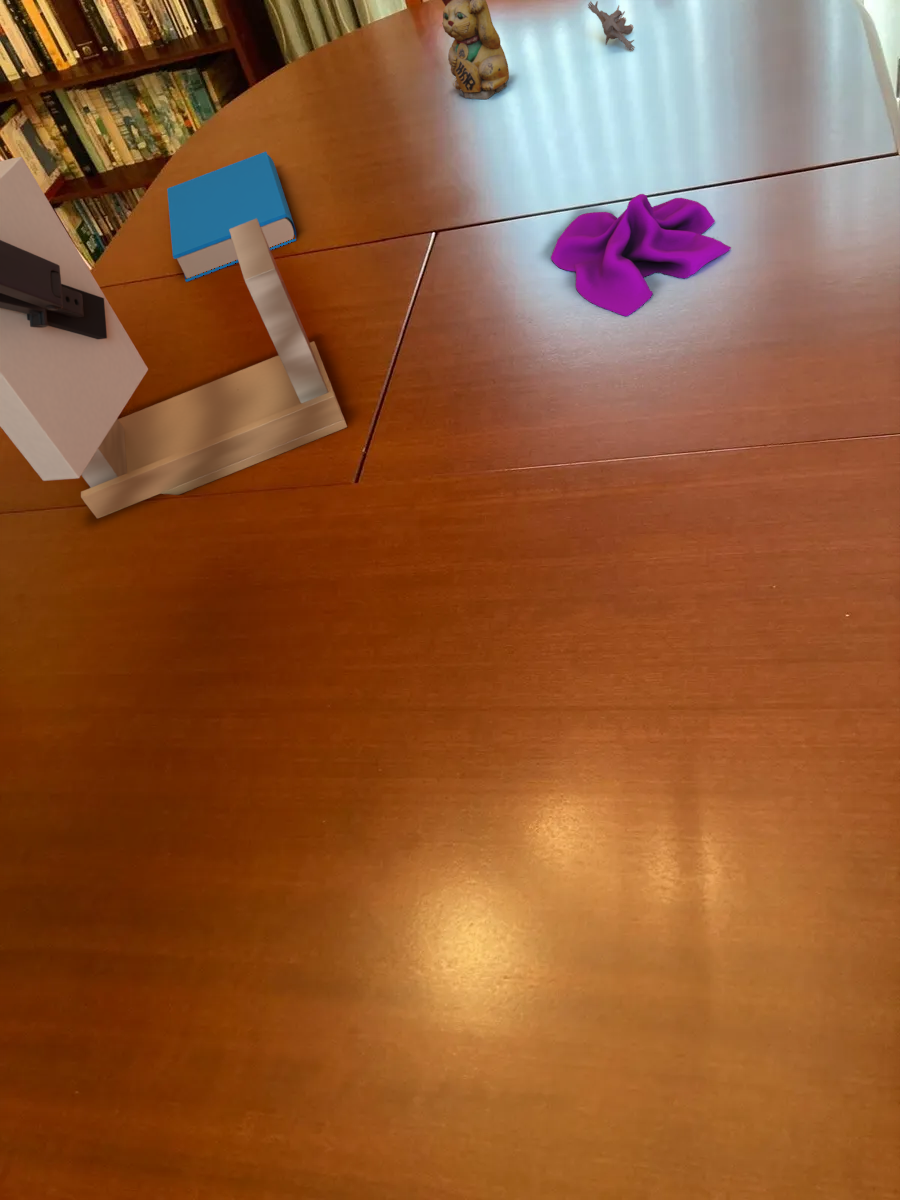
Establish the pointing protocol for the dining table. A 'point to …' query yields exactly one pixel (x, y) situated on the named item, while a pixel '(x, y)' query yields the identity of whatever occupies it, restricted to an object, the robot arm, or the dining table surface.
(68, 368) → the cream book
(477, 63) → the decorative figurine
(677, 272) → the cloth
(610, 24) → the brown monster figure
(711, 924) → the dining table surface
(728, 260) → the dining table surface
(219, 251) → the book
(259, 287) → the book rack
